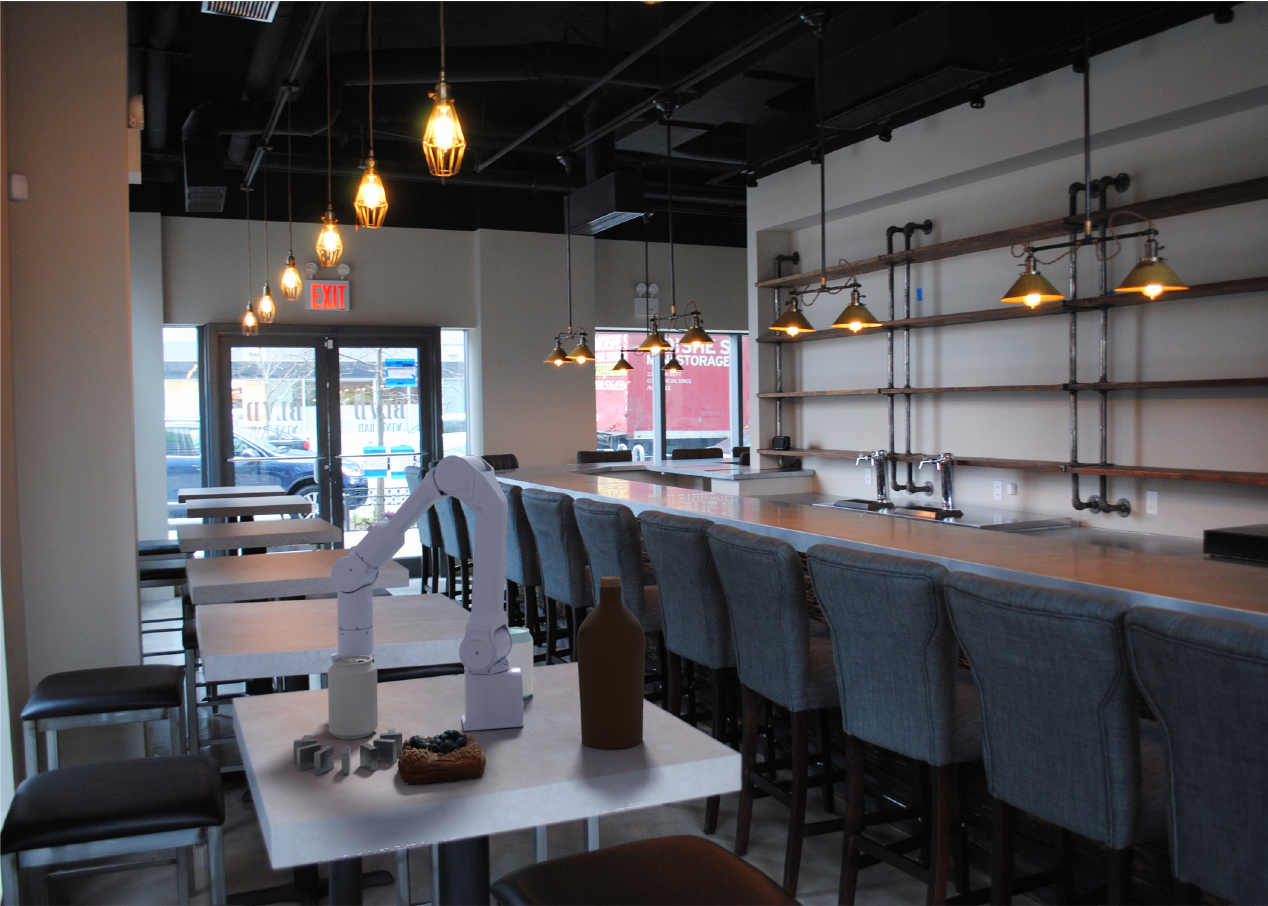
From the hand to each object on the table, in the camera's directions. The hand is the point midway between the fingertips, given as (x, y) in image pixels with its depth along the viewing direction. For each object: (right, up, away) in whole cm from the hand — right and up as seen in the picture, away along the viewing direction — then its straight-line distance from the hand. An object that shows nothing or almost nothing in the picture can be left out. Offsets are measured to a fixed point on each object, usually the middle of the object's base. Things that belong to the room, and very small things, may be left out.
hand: (356, 708), depth 160 cm
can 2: (+25, -2, +13) cm, 28 cm away
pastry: (+20, -2, -26) cm, 33 cm away
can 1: (+2, -2, -9) cm, 9 cm away
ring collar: (+5, -2, -23) cm, 23 cm away
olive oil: (+43, -2, -13) cm, 45 cm away
